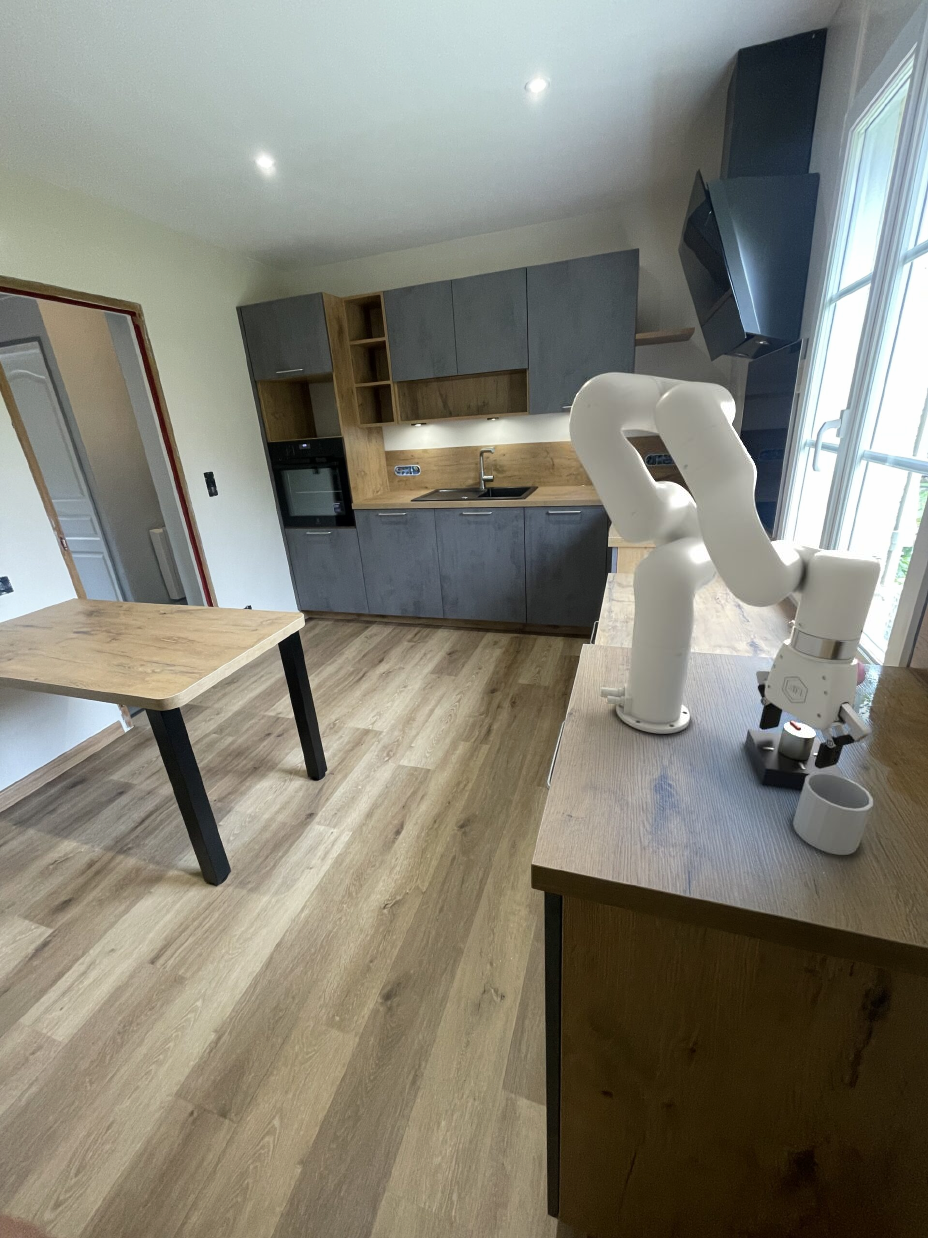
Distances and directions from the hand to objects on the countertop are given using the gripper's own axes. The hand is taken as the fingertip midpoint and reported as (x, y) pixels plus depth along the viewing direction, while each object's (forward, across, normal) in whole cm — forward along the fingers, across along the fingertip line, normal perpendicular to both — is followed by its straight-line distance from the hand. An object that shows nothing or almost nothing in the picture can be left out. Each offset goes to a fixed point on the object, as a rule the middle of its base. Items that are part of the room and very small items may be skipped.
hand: (794, 745), depth 73 cm
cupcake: (+4, -13, +23) cm, 27 cm away
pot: (+4, +12, -6) cm, 14 cm away
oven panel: (+4, 0, 0) cm, 4 cm away
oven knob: (+1, 0, 0) cm, 1 cm away
